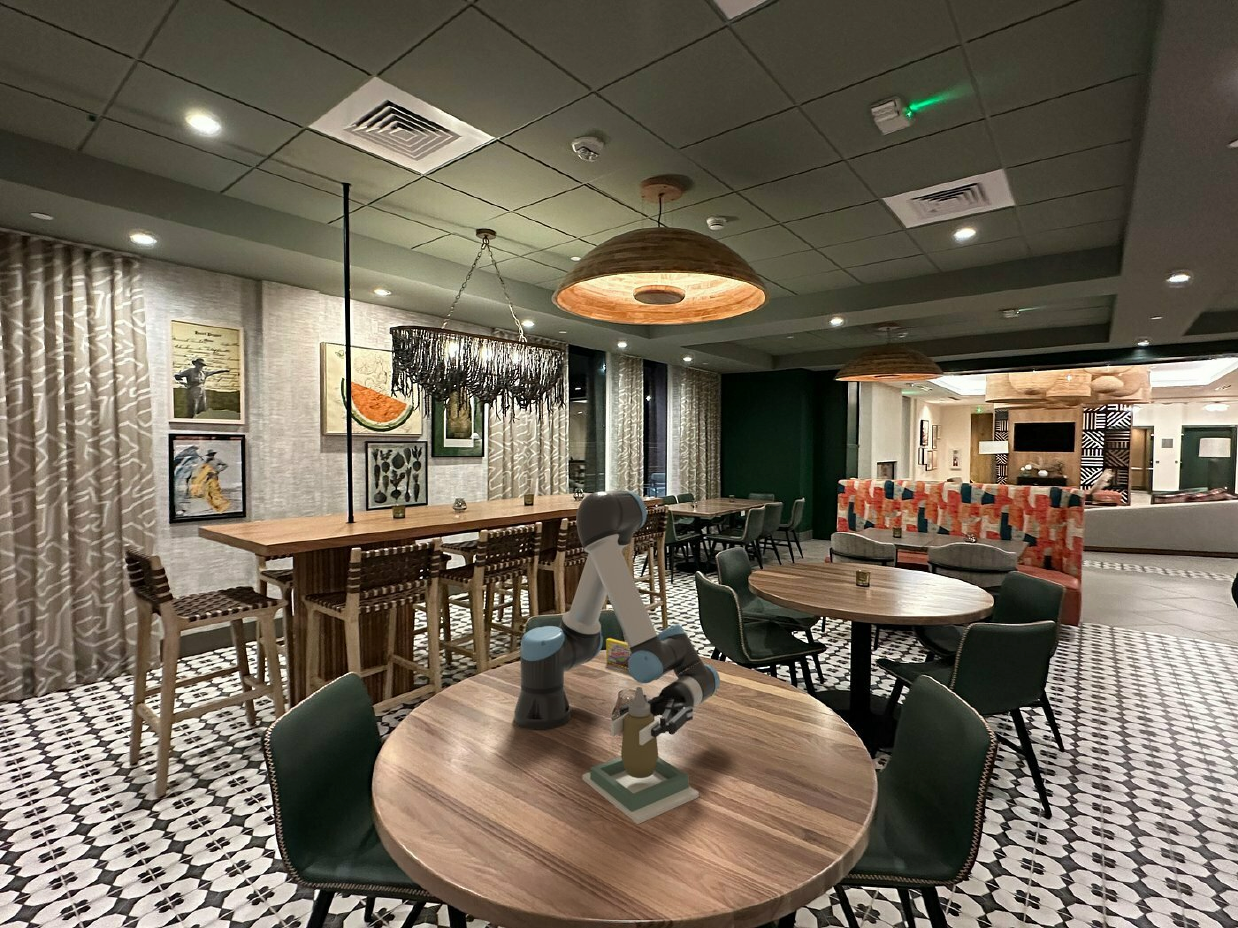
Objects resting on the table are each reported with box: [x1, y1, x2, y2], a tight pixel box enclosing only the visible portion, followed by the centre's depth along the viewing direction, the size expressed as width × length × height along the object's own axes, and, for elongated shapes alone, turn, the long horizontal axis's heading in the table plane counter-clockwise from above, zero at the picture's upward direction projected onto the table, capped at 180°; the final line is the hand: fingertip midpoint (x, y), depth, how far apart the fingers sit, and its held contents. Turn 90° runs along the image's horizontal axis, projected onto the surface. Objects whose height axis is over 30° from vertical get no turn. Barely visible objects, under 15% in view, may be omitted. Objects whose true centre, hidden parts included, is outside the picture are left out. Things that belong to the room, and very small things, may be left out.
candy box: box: [605, 637, 632, 669], centre depth 203 cm, size 16×2×8 cm, turn 50°
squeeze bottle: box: [620, 686, 659, 778], centre depth 129 cm, size 8×8×18 cm
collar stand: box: [581, 756, 700, 825], centre depth 128 cm, size 20×16×4 cm
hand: (626, 733), depth 124 cm, fingers closed on squeeze bottle, 6 cm apart
